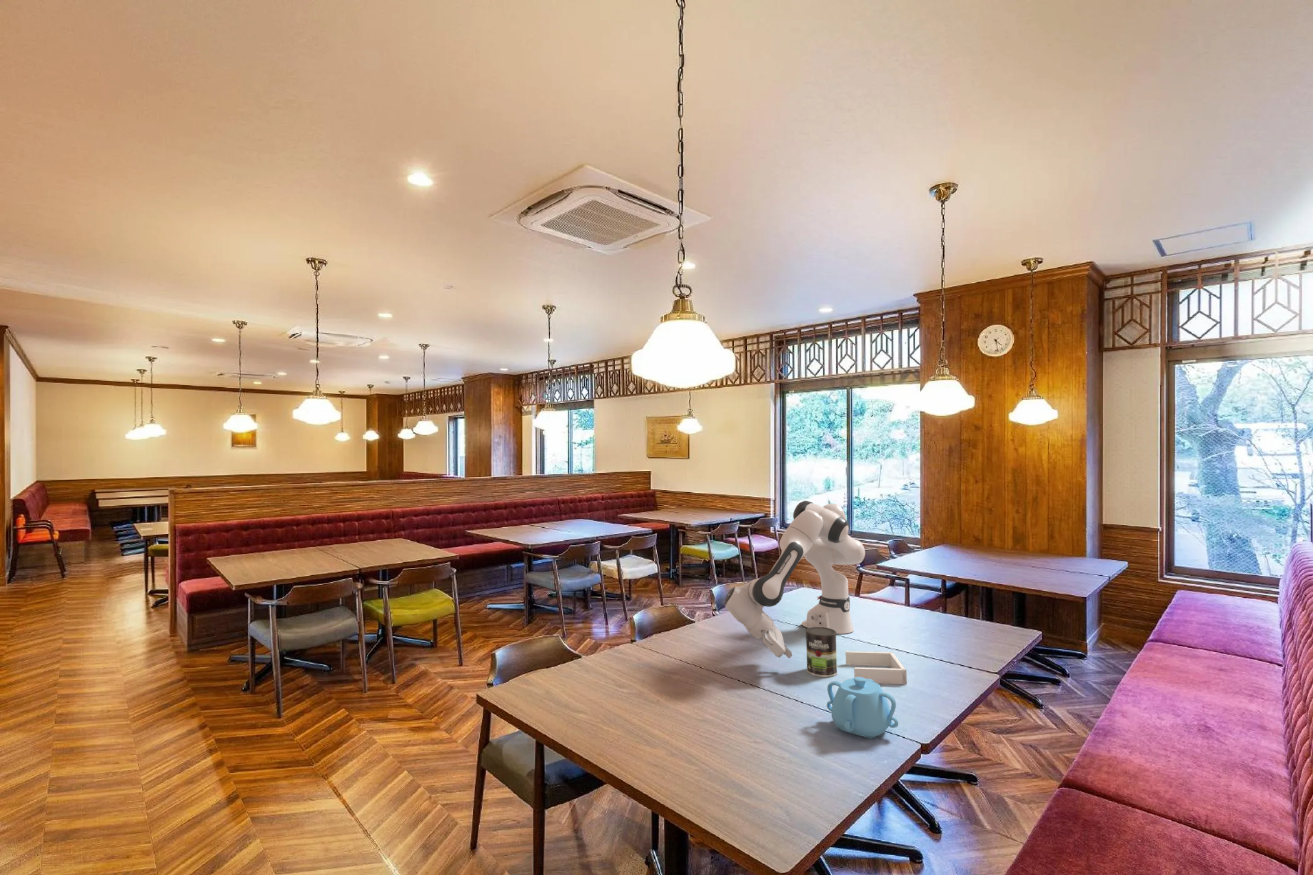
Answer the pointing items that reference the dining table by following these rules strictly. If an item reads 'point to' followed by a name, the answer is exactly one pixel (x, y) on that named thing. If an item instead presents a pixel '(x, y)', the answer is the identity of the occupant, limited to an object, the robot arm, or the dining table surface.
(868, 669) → the box
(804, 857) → the dining table surface
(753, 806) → the dining table surface
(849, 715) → the decorative pot
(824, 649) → the coffee can
